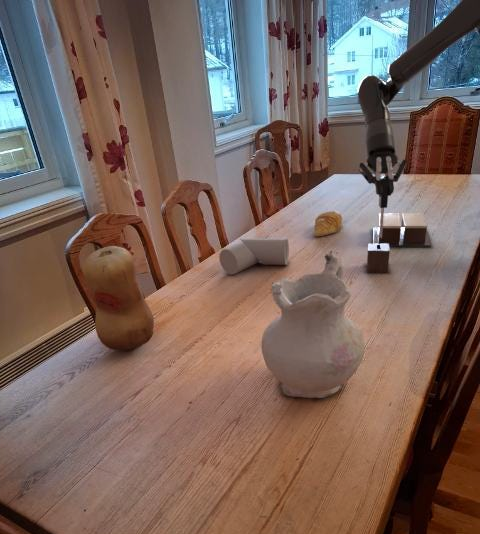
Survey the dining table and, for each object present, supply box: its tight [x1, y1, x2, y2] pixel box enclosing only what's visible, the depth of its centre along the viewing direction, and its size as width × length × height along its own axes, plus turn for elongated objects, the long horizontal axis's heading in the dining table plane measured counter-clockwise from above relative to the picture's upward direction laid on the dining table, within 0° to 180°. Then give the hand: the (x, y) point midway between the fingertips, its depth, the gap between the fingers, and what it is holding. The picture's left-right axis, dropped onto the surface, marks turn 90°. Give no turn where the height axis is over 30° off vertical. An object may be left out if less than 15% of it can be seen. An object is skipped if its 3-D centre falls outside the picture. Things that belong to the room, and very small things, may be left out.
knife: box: [378, 176, 389, 238], centre depth 122 cm, size 2×3×17 cm, turn 175°
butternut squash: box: [83, 245, 155, 352], centre depth 99 cm, size 14×13×25 cm
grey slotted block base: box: [372, 212, 432, 249], centre depth 149 cm, size 18×18×7 cm
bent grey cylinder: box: [219, 238, 290, 276], centre depth 138 cm, size 18×11×20 cm
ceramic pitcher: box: [261, 250, 366, 399], centre depth 82 cm, size 22×20×25 cm
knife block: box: [366, 242, 391, 274], centre depth 129 cm, size 6×6×7 cm
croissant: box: [313, 211, 343, 237], centre depth 164 cm, size 21×10×8 cm, turn 147°
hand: (385, 194), depth 118 cm, fingers closed on knife, 2 cm apart
